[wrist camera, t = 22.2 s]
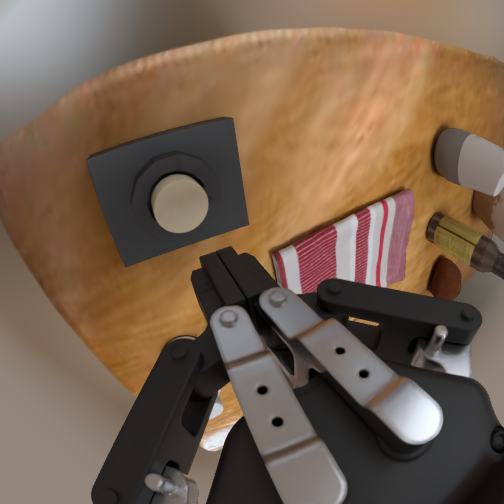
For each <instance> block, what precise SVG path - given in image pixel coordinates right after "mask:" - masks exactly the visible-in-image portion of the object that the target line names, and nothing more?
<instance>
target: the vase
mask: <svg viewBox="0 0 504 504" xmlns="http://www.w3.org/2000/svg"><path fill="white" fill-rule="evenodd" d="M473 210H474V211H475V213H476V214H477V215H478V216H479V218H480V219H481V220H482V221H483V222H484V223H485V225H486V226H487V227H488V228H489V229H490V230H491V231H492V232H493V233H494V234H496V235H497V236H498V237H499V238H500V239H502V241H504V187H503V188H502V190H501V191H500V192H499V193H498V195H496V196H495V197H494V196H491V195H488V194H485V193H482V192H479V191H476V190H475V193H474V198H473Z"/></svg>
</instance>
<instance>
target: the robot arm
mask: <svg viewBox="0 0 504 504" xmlns="http://www.w3.org/2000/svg"><path fill="white" fill-rule="evenodd" d="M199 258H200V263H201V266H202V268H200V269H197V270H194V271H192V275H191V282H192V285H193V288H194V291H195V294H196V297H197V300H198V303H199V305H200V308H201V310H202V312H203V314H204V317H205V319H206V321H207V323H208V325H207V327H206V329H205V331H204V332H203V333H202V334H201V335H200V336H199V337H197V338H196V339H195V340H191V339H188V338H180V339H176V340H173V341H171V342H170V343H168V344H167V345H166V346H165V347H164V349H163V350H162V352H161V354H160V356H159V357H158V359H157V361H156V363H155V365H154V367H153V369H152V370H151V372H150V374H149V376H148V378H147V380H146V382H145V384H144V386H143V387H142V389H141V391H140V393H139V395H138V397H137V399H136V401H135V403H134V405H133V407H132V409H131V410H130V412H129V415H128V416H127V418H126V420H125V422H124V424H123V426H122V428H121V430H120V432H119V434H118V436H117V438H116V440H115V442H114V444H113V446H112V448H111V450H110V452H109V454H108V456H107V458H106V460H105V462H104V465H103V467H102V469H101V471H100V473H99V475H98V477H97V479H96V481H95V484H94V485H93V488H92V492H91V498H92V501H93V504H198V497H199V489H198V486H197V484H196V482H195V481H194V480H193V479H192V478H190V477H189V476H187V475H188V472H189V470H190V467H191V465H192V462H193V459H194V457H195V454H196V452H197V449H198V446H199V444H200V441H201V438H202V436H203V433H204V430H205V428H206V425H207V422H208V420H209V417H210V414H211V412H212V409H213V406H214V404H215V401H216V398H217V395H218V390H220V389H221V388H222V387H223V386H225V385H226V384H227V383H228V382H230V381H231V384H232V386H233V389H234V391H235V394H236V397H237V399H238V402H239V404H240V407H241V409H242V412H243V414H244V416H243V417H241V418H240V419H239V420H238V421H237V422H236V424H235V425H234V426H233V427H232V429H231V430H230V432H229V433H228V435H227V438H226V440H225V443H224V446H223V449H222V453H221V456H220V459H219V463H218V466H217V470H216V473H215V476H214V479H213V483H212V486H211V489H210V492H209V496H208V499H207V502H206V504H504V428H503V427H502V426H501V424H500V423H499V421H498V419H497V417H496V415H495V413H494V410H493V407H492V405H491V401H490V398H489V395H488V393H487V391H486V390H485V388H484V387H483V386H482V385H481V384H480V383H479V382H478V381H476V380H474V379H472V378H471V341H472V340H473V338H474V336H475V335H476V333H477V331H478V329H479V327H480V326H481V324H482V316H481V314H480V312H479V311H478V310H477V309H476V308H475V307H474V306H472V305H470V304H466V303H461V302H456V301H451V300H446V299H440V298H435V297H430V296H425V295H419V294H414V293H409V292H404V291H399V290H394V289H389V288H384V287H379V286H373V285H368V284H363V283H358V282H353V281H348V280H343V279H338V278H330V279H326V280H324V281H322V282H321V283H320V284H319V285H318V286H317V292H311V293H305V294H295V293H294V292H293V291H292V290H290V289H288V288H285V287H280V286H279V285H278V284H277V283H276V281H275V280H274V279H273V278H272V277H271V276H270V274H269V273H268V272H267V271H266V270H265V269H264V267H263V266H262V265H261V264H260V263H259V262H258V260H257V259H256V258H255V257H254V256H252V255H250V254H248V253H242V254H239V255H238V254H237V253H236V252H235V250H234V249H233V248H232V247H231V246H229V247H226V248H223V249H221V250H218V251H216V252H212V253H209V254H206V255H203V256H200V257H199ZM349 317H354V318H358V319H363V320H367V321H372V322H376V323H379V324H380V326H373V325H368V324H364V323H359V322H355V321H350V320H348V319H349ZM260 336H262V337H263V339H264V340H265V344H266V349H267V350H266V349H265V347H264V345H263V343H262V341H261V339H260ZM279 366H280V367H281V369H282V370H283V371H284V372H285V374H286V375H287V376H288V378H289V379H290V380H291V382H292V383H293V385H294V389H291V387H290V385H289V384H288V382H287V380H286V378H285V376H284V374H283V373H282V371H281V369H280V367H279Z"/></svg>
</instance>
